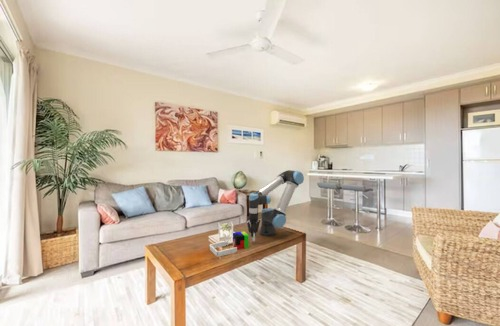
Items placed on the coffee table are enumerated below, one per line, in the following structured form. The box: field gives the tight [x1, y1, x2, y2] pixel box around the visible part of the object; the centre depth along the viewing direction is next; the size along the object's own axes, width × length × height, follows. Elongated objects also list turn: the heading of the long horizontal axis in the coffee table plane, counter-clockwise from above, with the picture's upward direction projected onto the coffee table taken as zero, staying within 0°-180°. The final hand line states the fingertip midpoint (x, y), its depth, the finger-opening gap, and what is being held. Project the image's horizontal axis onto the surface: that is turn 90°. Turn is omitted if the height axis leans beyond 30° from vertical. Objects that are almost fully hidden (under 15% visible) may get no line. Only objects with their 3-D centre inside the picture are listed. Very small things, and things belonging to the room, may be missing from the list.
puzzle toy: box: [232, 231, 250, 251], centre depth 174 cm, size 10×10×10 cm
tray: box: [208, 240, 238, 258], centre depth 166 cm, size 16×16×4 cm
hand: (253, 240), depth 181 cm, fingers closed
